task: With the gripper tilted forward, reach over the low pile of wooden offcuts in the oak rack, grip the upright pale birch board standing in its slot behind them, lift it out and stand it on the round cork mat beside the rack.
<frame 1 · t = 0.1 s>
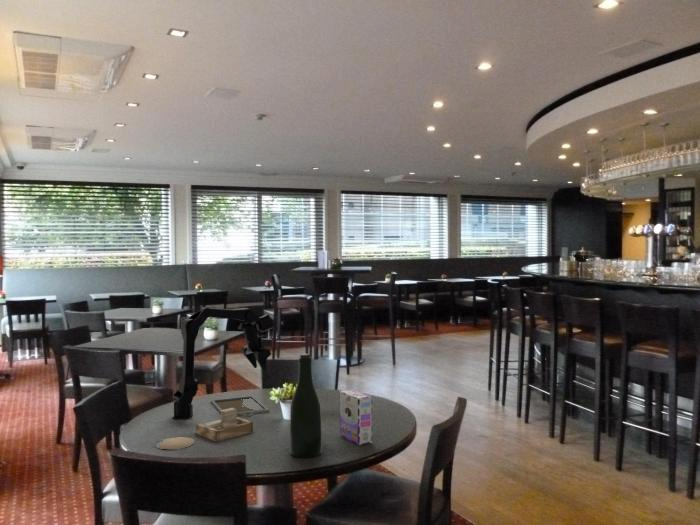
hand: (260, 369, 254), 15 cm above the table, tool pointing down, fingers open, 9 cm apart
cork mat: (175, 443, 201), on the table
green wine bottle: (305, 453, 191), on the table
candy box: (355, 439, 205), on the table
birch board: (228, 422, 211), in the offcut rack
picture frame: (239, 409, 248), on the table
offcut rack: (228, 434, 211), on the table
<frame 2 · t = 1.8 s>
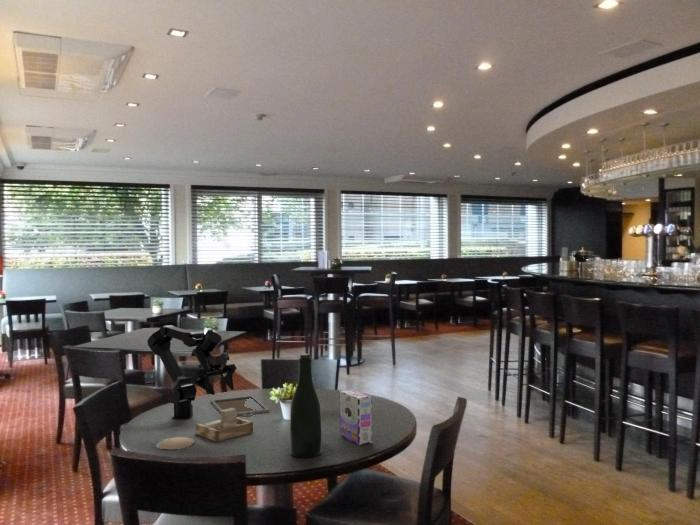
hand: (223, 392, 219), 14 cm above the table, tool tilted 40°, fingers open, 9 cm apart
nothing on the table moved.
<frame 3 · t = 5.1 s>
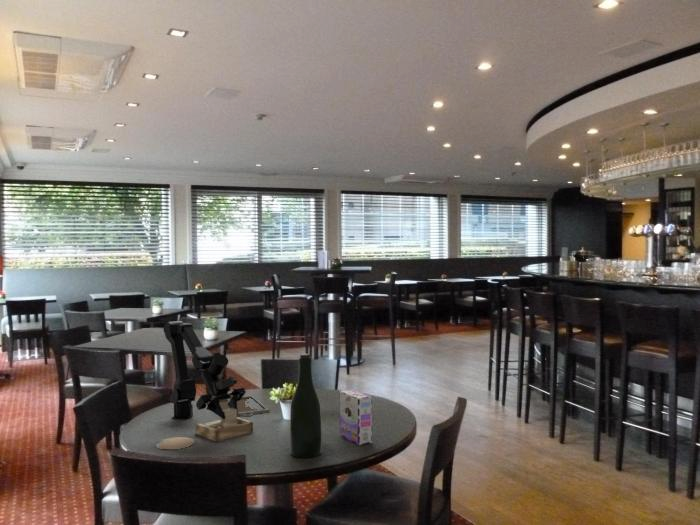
hand: (230, 417, 210), 7 cm above the table, tool tilted 45°, fingers closed on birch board, 5 cm apart
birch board: (228, 422, 211), in the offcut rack, touching gripper
everything else where it was.
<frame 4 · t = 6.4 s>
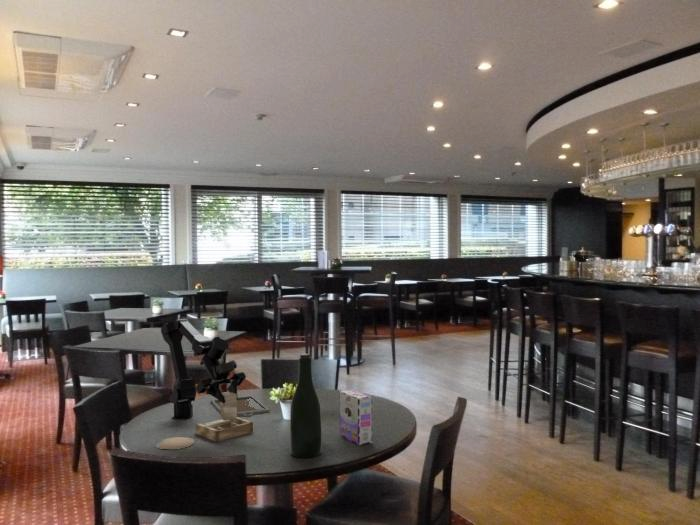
hand: (230, 401, 210), 12 cm above the table, tool tilted 45°, fingers closed on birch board, 5 cm apart
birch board: (228, 406, 211), point 10 cm above the table, touching gripper
everything else where it was.
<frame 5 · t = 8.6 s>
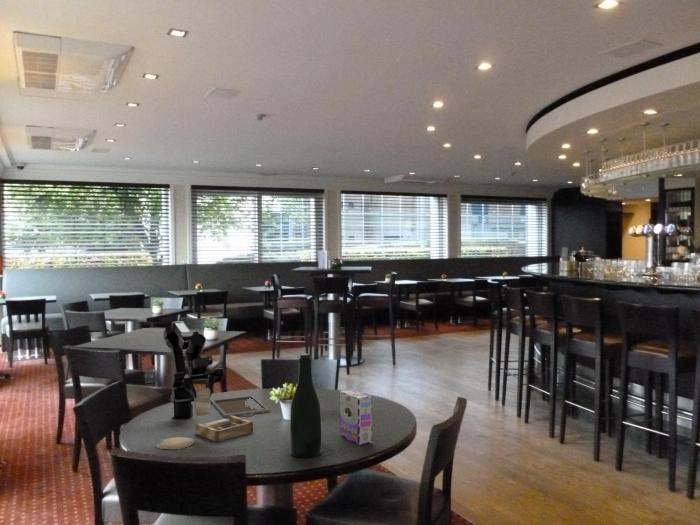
hand: (203, 396, 209), 14 cm above the table, tool tilted 45°, fingers closed on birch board, 5 cm apart
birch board: (202, 401, 210), point 12 cm above the table, touching gripper
everything else where it was.
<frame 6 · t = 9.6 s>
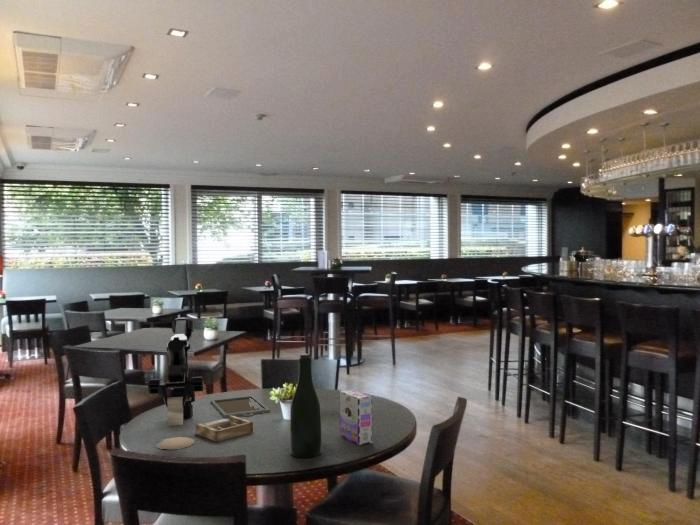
hand: (174, 406, 199), 14 cm above the table, tool tilted 45°, fingers closed on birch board, 5 cm apart
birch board: (175, 411, 201), point 11 cm above the table, touching gripper
everything else where it was.
when the fingers open (8 cm above the table, at t = 11.7 s): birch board stays where it is, resting on cork mat.
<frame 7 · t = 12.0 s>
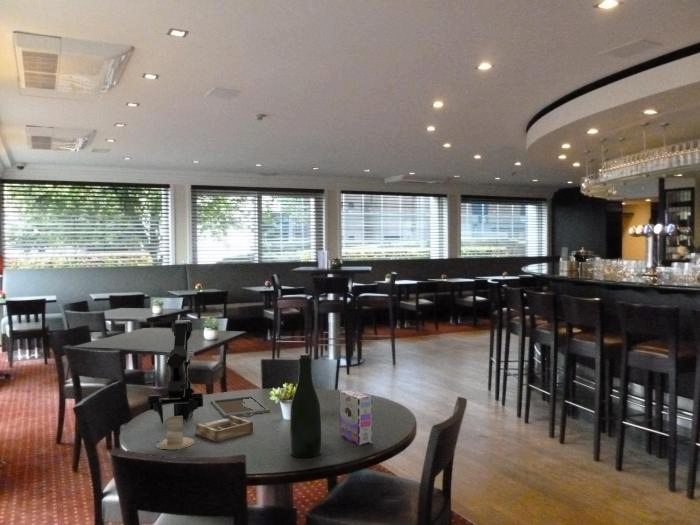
hand: (174, 422, 199), 8 cm above the table, tool tilted 45°, fingers open, 8 cm apart
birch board: (175, 430, 201), resting on cork mat
everything else where it was.
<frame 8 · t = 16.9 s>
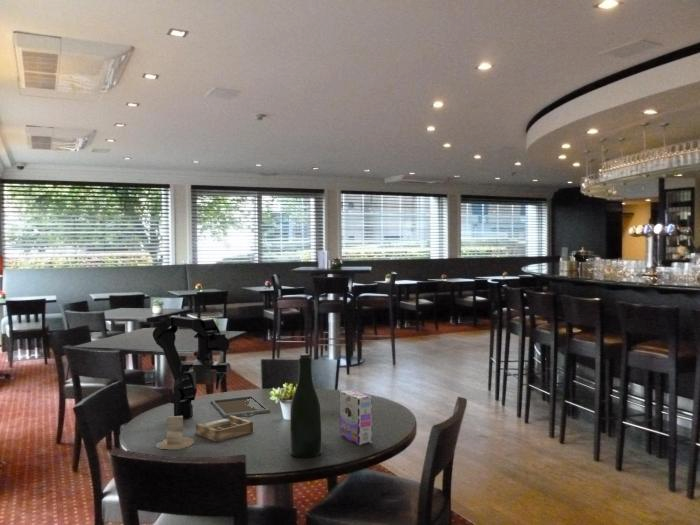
hand: (205, 389, 227), 13 cm above the table, tool pointing down, fingers open, 9 cm apart
nothing on the table moved.
at the end: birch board 0.0 cm from the cork mat (horizontally); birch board moved 19.6 cm from its start; the gripper is holding nothing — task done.
